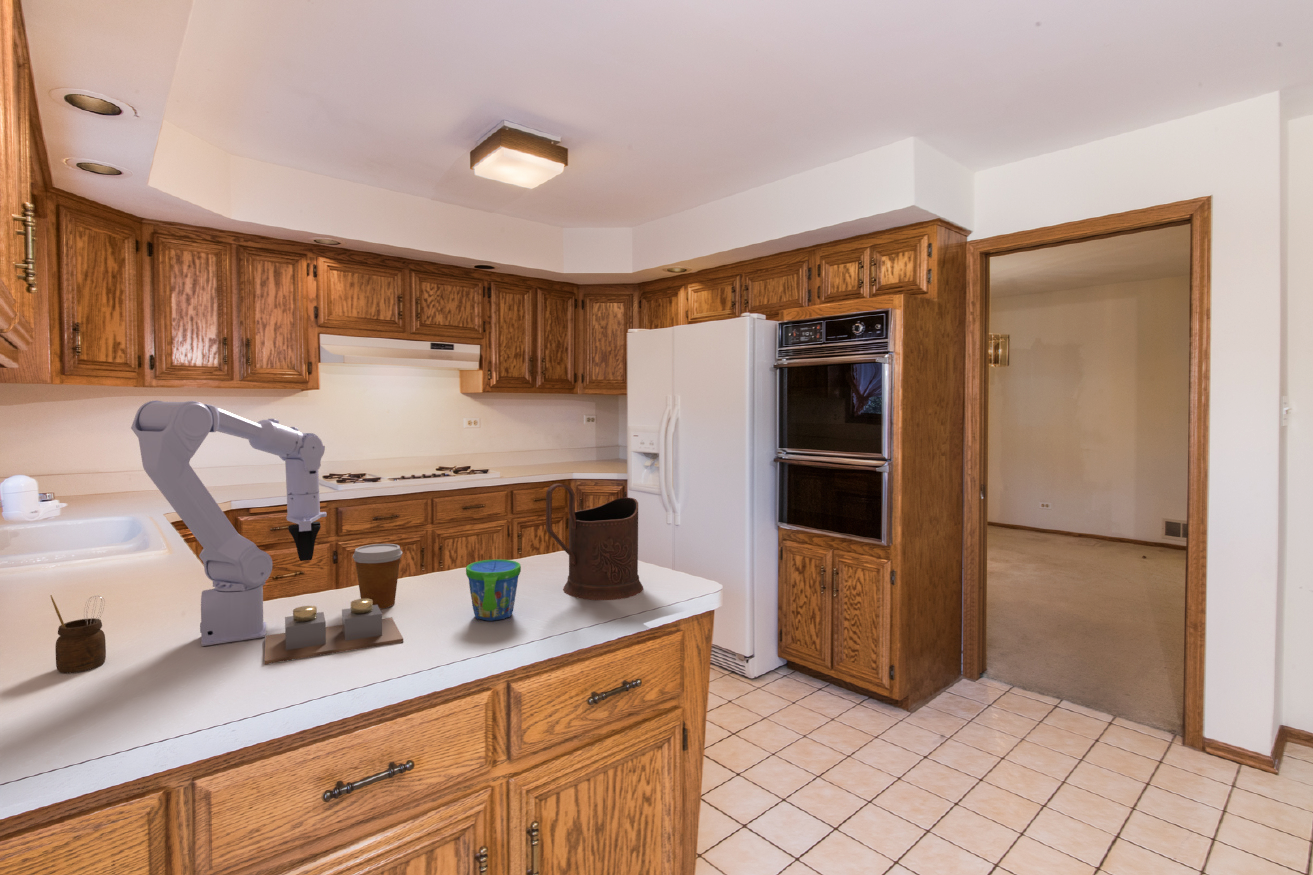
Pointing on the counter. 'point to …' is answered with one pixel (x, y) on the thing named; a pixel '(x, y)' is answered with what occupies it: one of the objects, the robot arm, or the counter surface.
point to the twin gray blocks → (315, 629)
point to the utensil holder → (80, 643)
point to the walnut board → (329, 643)
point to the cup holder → (600, 548)
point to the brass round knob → (361, 606)
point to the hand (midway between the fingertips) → (305, 559)
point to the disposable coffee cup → (378, 572)
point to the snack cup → (493, 588)
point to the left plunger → (305, 613)
